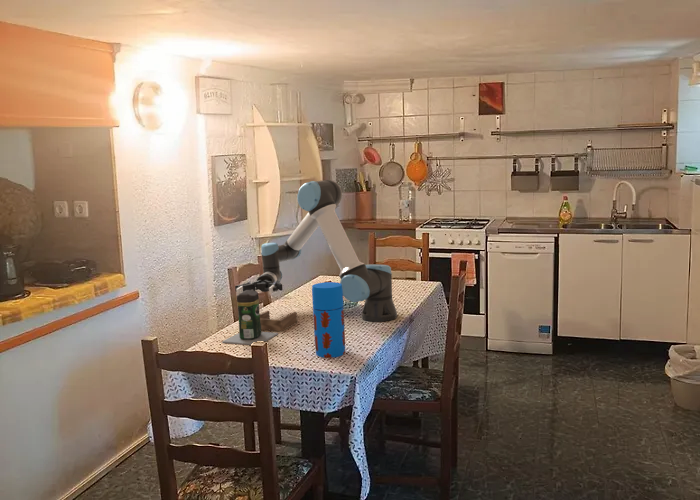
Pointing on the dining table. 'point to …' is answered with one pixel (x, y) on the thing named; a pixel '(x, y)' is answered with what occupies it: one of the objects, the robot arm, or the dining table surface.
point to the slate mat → (238, 340)
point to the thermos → (328, 319)
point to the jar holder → (277, 322)
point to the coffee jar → (249, 315)
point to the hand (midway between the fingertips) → (253, 291)
